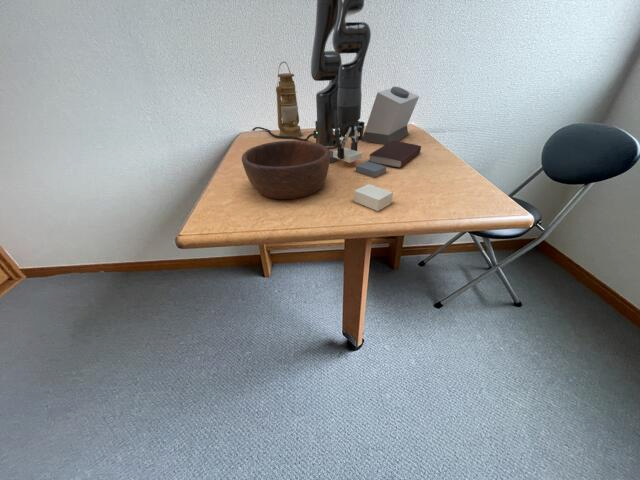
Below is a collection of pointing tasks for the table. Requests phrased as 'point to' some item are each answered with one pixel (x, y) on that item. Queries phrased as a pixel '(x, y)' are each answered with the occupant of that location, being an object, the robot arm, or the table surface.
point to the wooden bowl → (287, 168)
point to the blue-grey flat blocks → (365, 167)
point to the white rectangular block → (373, 197)
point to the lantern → (287, 105)
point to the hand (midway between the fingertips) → (347, 155)
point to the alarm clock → (390, 115)
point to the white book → (349, 155)
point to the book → (394, 154)
